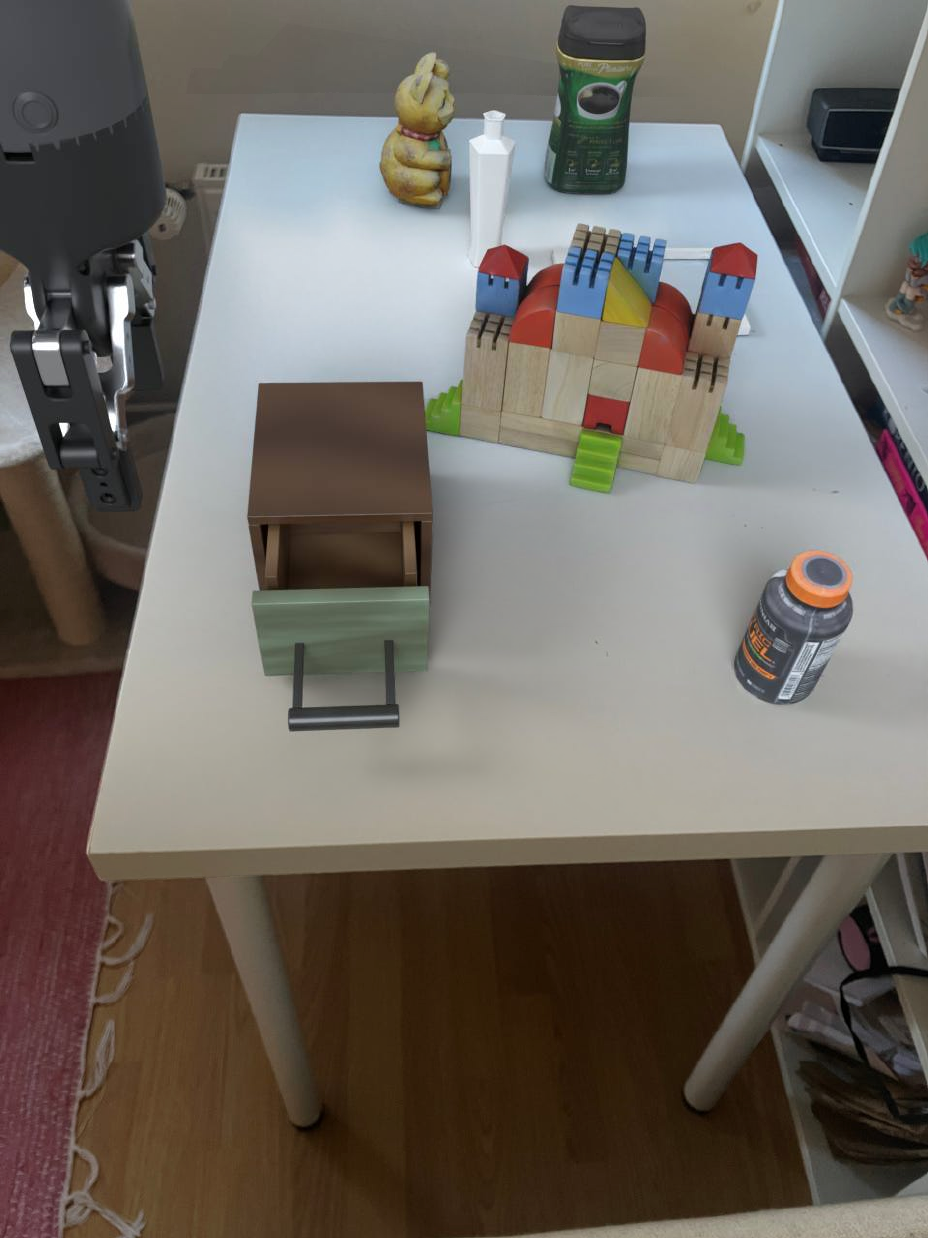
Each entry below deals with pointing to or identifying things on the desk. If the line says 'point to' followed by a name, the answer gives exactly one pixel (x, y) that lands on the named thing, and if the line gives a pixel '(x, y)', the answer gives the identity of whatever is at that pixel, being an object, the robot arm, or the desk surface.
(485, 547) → the desk surface
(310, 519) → the cabinet
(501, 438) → the block set
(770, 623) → the pill bottle
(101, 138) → the robot arm
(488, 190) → the perfume bottle
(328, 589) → the drawer
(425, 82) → the decorative figurine
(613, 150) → the coffee jar
